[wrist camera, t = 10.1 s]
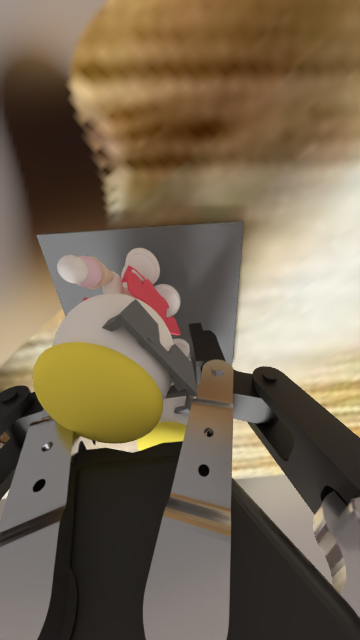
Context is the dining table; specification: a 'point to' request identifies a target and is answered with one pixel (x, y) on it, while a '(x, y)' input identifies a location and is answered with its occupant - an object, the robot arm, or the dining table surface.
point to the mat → (165, 269)
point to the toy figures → (118, 357)
